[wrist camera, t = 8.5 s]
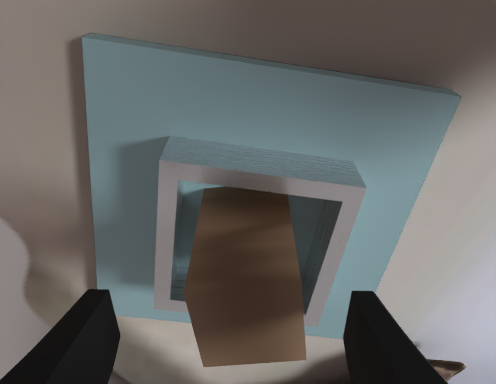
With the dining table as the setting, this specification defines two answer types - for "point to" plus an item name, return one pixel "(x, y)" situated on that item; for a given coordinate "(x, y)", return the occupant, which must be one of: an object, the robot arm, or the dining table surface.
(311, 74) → the board
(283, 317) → the peg
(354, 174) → the socket
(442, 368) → the ceramic sculpture
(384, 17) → the dining table surface
